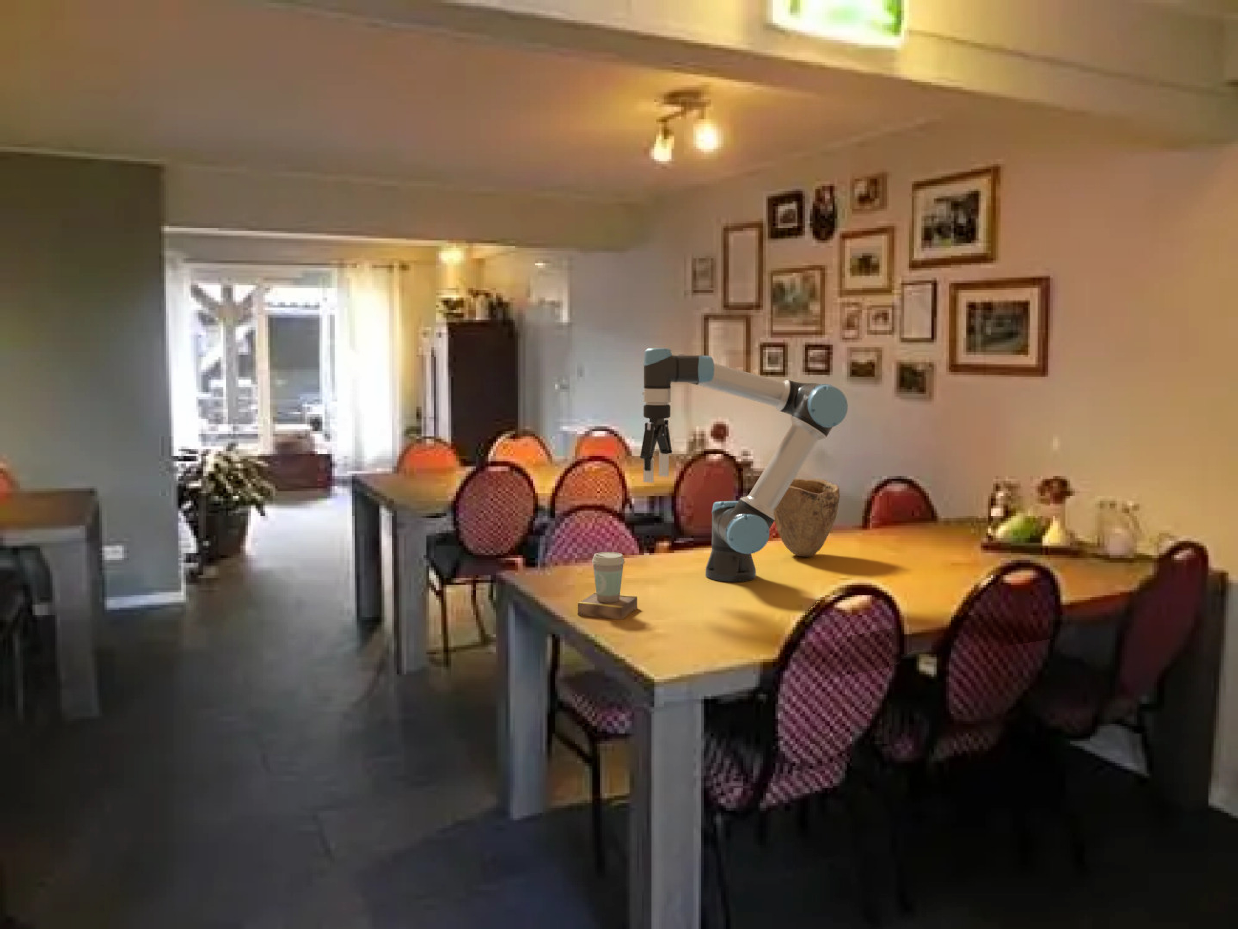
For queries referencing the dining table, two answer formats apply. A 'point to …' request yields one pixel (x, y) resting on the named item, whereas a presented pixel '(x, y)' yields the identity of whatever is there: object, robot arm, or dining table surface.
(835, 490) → the ancient clay pot
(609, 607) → the block
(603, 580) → the coffee cup
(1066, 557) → the dining table surface
